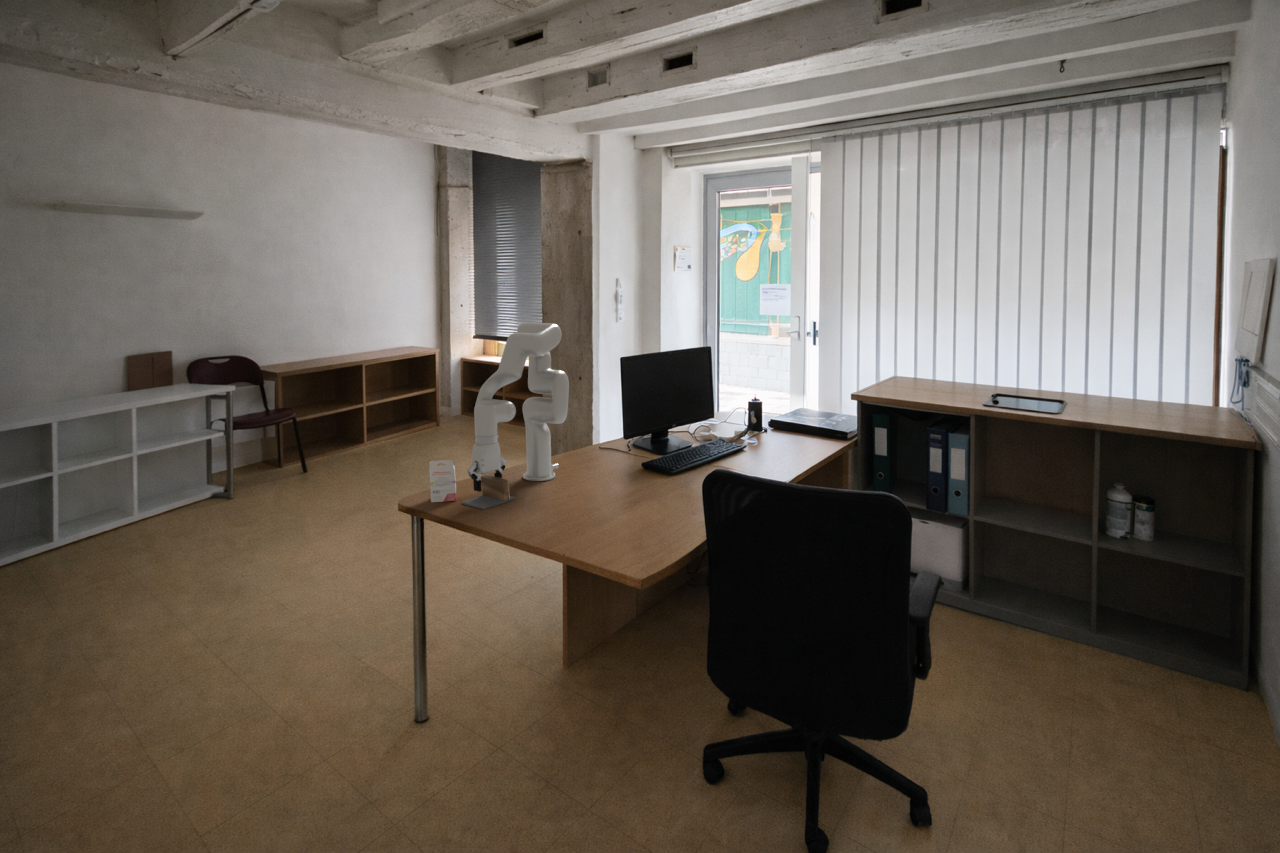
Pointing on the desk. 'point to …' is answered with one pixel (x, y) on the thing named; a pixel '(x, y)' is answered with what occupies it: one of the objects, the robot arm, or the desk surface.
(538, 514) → the desk surface
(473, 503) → the mat
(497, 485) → the tile
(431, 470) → the ink cartridge box
